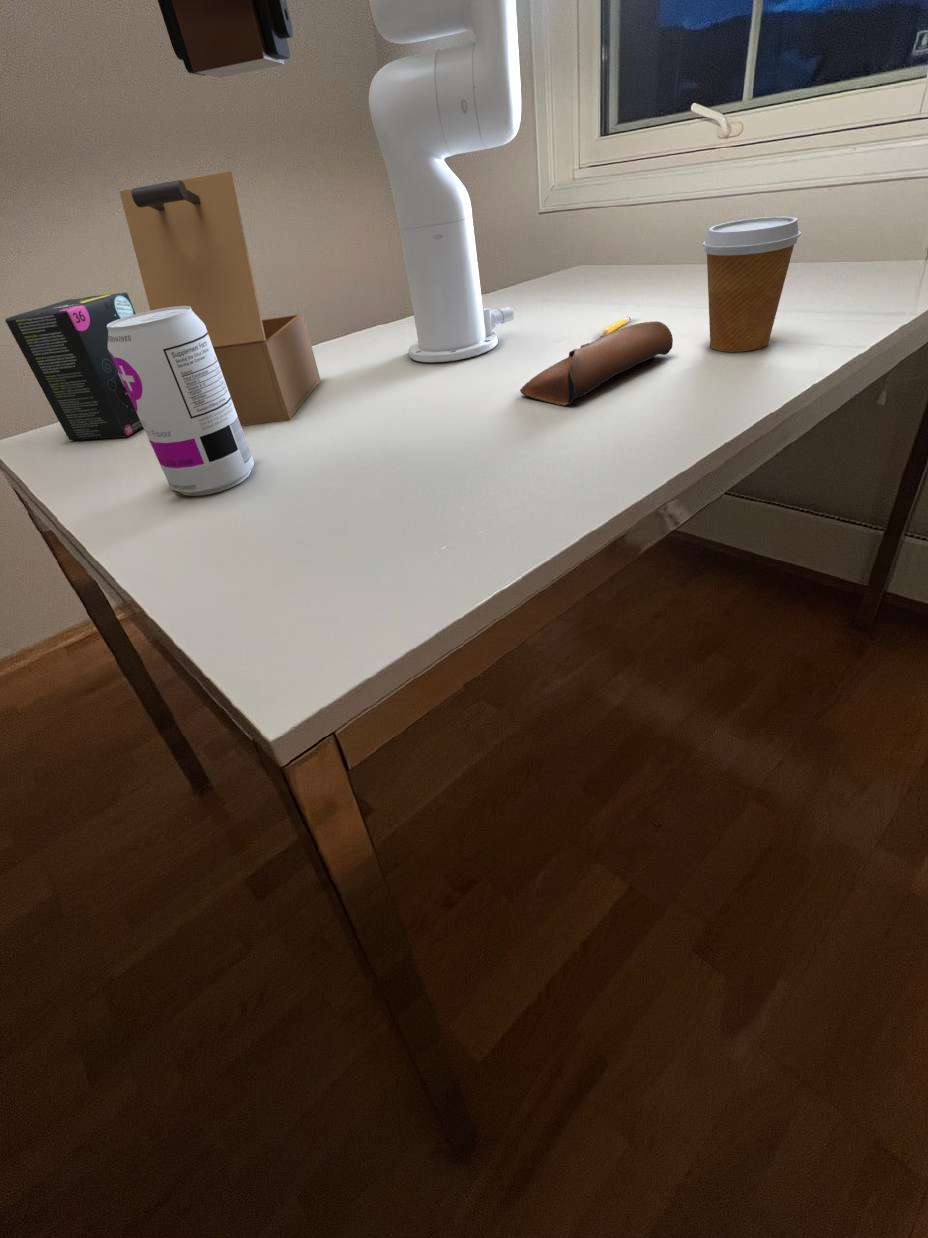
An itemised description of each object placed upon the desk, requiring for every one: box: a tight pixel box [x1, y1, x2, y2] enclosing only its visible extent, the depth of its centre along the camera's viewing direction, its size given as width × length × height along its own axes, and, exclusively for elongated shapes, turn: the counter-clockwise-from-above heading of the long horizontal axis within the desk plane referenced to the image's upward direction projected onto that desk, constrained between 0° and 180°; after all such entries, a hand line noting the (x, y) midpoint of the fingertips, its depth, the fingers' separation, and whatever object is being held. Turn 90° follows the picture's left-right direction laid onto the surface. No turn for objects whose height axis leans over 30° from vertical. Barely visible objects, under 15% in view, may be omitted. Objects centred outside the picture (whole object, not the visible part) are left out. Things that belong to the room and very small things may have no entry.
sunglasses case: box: [519, 321, 674, 407], centre depth 70 cm, size 18×7×7 cm, turn 134°
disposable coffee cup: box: [702, 216, 802, 353], centre depth 70 cm, size 10×10×12 cm
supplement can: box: [107, 306, 255, 497], centre depth 58 cm, size 8×8×15 cm
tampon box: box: [4, 292, 143, 441], centre depth 79 cm, size 11×9×15 cm
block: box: [172, 0, 285, 79], centre depth 38 cm, size 4×4×4 cm
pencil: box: [599, 316, 631, 337], centre depth 86 cm, size 1×8×1 cm, turn 142°
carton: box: [213, 313, 322, 427], centre depth 79 cm, size 15×12×9 cm
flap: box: [119, 170, 266, 348], centre depth 65 cm, size 16×12×5 cm
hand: (239, 60), depth 39 cm, fingers closed on block, 4 cm apart
